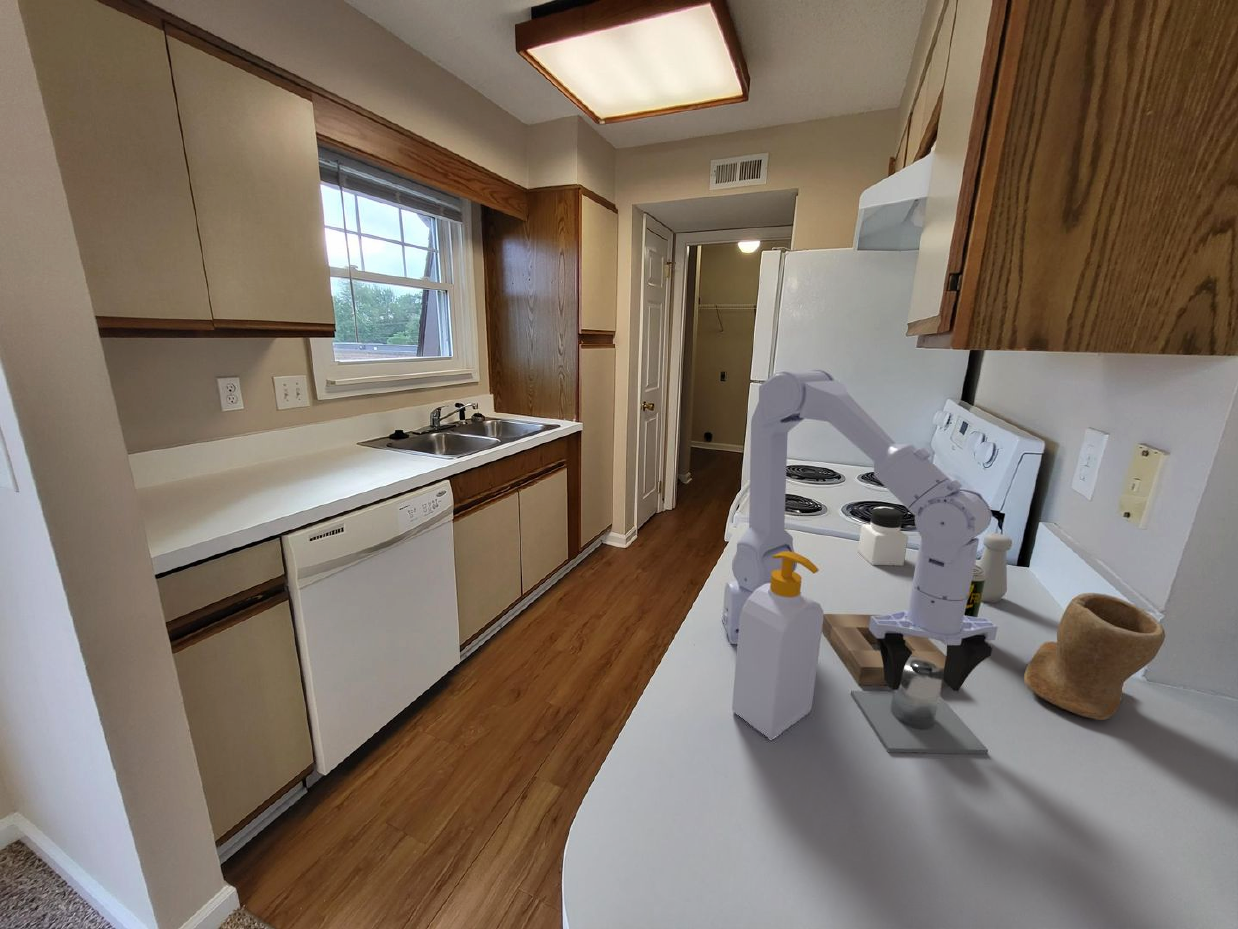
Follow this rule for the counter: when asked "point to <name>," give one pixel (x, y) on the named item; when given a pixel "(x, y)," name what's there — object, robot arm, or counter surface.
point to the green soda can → (975, 592)
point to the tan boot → (1094, 655)
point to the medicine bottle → (883, 538)
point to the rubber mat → (902, 738)
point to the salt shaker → (995, 566)
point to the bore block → (859, 656)
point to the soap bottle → (777, 651)
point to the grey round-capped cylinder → (918, 694)
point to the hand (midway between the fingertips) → (920, 685)
